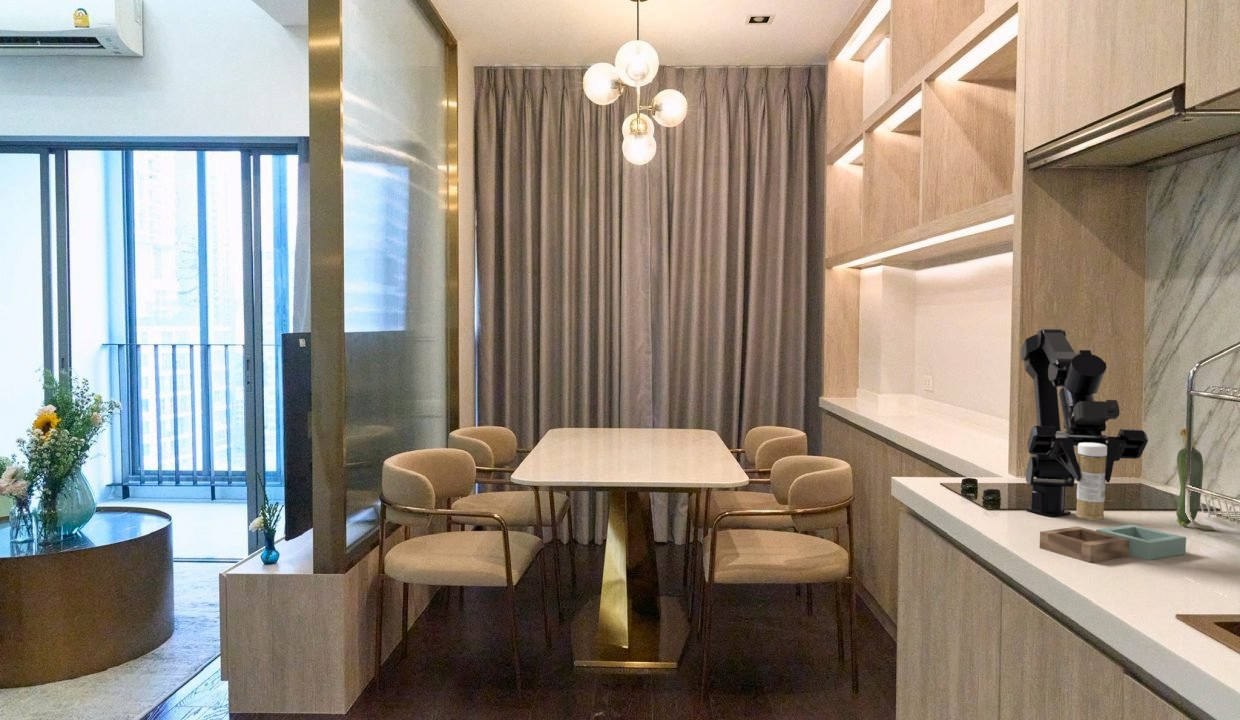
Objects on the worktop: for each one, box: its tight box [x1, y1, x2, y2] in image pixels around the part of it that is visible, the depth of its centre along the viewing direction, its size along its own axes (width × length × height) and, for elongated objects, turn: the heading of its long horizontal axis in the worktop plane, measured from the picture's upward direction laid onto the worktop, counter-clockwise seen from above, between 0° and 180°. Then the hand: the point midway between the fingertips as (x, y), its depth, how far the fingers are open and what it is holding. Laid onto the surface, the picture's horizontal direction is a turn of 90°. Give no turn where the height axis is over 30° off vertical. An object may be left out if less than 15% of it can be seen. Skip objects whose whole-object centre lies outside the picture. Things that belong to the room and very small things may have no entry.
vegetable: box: [1175, 428, 1204, 528], centre depth 168 cm, size 4×4×20 cm
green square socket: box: [1095, 524, 1187, 561], centre depth 152 cm, size 10×10×3 cm
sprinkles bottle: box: [1075, 442, 1107, 521], centre depth 149 cm, size 5×5×14 cm
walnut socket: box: [1039, 526, 1130, 563], centre depth 150 cm, size 10×10×3 cm
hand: (1093, 480), depth 148 cm, fingers closed on sprinkles bottle, 4 cm apart
